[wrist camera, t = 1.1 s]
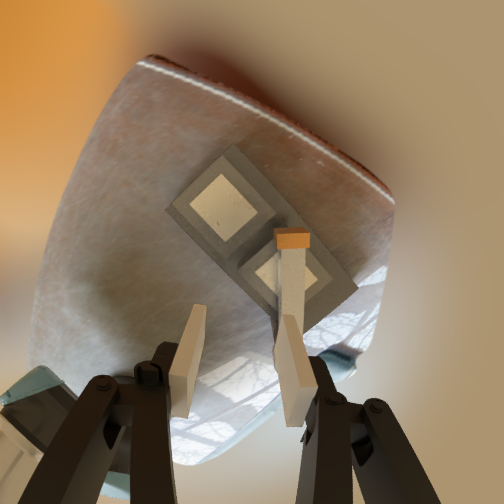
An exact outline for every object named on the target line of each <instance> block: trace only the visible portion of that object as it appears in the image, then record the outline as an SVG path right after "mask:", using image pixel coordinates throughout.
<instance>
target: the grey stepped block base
mask: <svg viewBox="0 0 504 504" xmlns="http://www.w3.org/2000/svg"><path fill="white" fill-rule="evenodd" d="M165 210H166V211H167V213H168V214H169V215H170V216H171V217H172V218H173V219H174V220H175V221H176V222H177V223H178V224H179V225H180V226H181V227H182V228H183V229H184V230H185V231H186V232H187V234H188V235H189V236H190V237H191V238H192V239H193V240H194V241H195V242H196V243H197V244H198V245H199V246H200V247H201V248H202V249H203V250H204V251H205V252H206V253H207V254H208V255H209V256H210V257H211V258H212V259H213V260H214V261H215V262H216V263H217V264H218V265H219V266H220V267H221V268H222V269H223V270H224V271H225V272H226V273H227V274H228V275H229V276H230V277H231V278H232V279H233V280H234V281H235V282H236V283H237V284H238V285H239V286H240V287H241V288H242V289H243V290H244V291H245V292H246V293H247V294H248V295H249V296H250V297H251V298H252V299H253V300H254V301H255V302H256V303H257V304H258V305H259V306H260V307H261V308H262V309H263V310H264V311H265V312H266V313H267V314H268V315H269V316H270V317H271V325H272V331H273V337H274V342H275V343H276V339H277V335H278V330H279V303H278V249H277V248H276V245H275V243H274V228H290V227H304V228H305V229H306V230H307V231H308V232H309V233H310V248H306V253H305V298H304V323H303V334H304V333H306V332H307V331H308V330H309V329H311V328H312V327H313V326H314V325H316V324H317V323H318V322H319V321H321V320H322V319H323V318H324V317H326V316H327V315H328V314H329V313H331V312H332V311H333V310H334V309H335V308H337V307H338V306H339V305H340V304H341V303H343V302H344V301H345V300H346V299H347V298H348V297H350V296H351V295H352V294H353V293H354V292H355V291H356V290H358V289H359V288H358V287H357V285H356V284H355V283H354V282H353V280H352V279H351V278H350V276H349V275H348V274H347V273H346V271H345V270H344V269H343V268H342V266H341V265H340V264H339V263H338V261H337V260H336V259H335V258H334V256H333V255H332V254H331V253H330V251H329V250H328V249H327V248H326V246H325V245H324V244H323V243H322V242H321V240H320V239H319V238H318V237H317V236H316V234H315V233H314V232H313V231H312V230H311V228H310V227H309V226H308V225H307V224H306V223H305V221H304V220H303V219H302V218H301V217H300V216H299V214H298V213H297V212H296V211H295V210H294V209H293V207H292V206H291V205H290V204H289V203H288V202H287V201H286V200H285V198H284V197H283V196H282V195H281V194H280V193H279V192H278V191H277V189H276V188H275V187H274V186H273V185H272V184H271V183H270V182H269V181H268V179H267V178H266V177H265V176H264V175H263V174H262V173H261V172H260V171H259V170H258V169H257V167H256V166H255V165H254V164H253V163H252V162H251V161H250V160H249V159H248V158H247V157H246V156H245V155H244V154H243V153H242V152H241V150H240V149H239V148H238V147H237V146H236V145H235V144H233V145H231V146H230V147H229V148H228V149H227V150H226V151H225V152H224V153H223V154H221V155H220V156H219V157H218V158H217V159H216V160H215V161H214V162H213V163H212V164H211V165H210V166H209V167H207V168H206V169H205V170H204V171H203V172H202V173H201V174H200V175H199V176H198V177H197V178H196V179H195V180H194V181H193V182H192V183H191V184H190V185H189V186H188V187H187V188H186V189H185V190H184V191H183V192H182V193H181V194H180V195H179V196H178V197H177V198H176V199H175V200H174V201H173V202H172V203H171V204H170V205H169V206H168V207H167V208H166V209H165Z"/></svg>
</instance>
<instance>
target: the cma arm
mask: <svg viewBox="0 0 504 504" xmlns="http://www.w3.org/2000/svg"><path fill="white" fill-rule="evenodd" d="M274 243H275V245H276V248H277V249H278V303H279V325H280V320H281V315H282V314H290V315H294V316H295V319H296V322H297V325H298V328H299V331H300V334H301V337H302V340H303V323H304V298H305V253H306V248H310V233H309V232H308V231H307V230H306V229H305V228H304V227H290V228H274ZM275 344H276V343H275ZM275 344H274V346H273V348H272V354H273V361H274V367H275V370H276V371H277V373H278V370H277V364H276V358H275V352H274V349H275Z"/></svg>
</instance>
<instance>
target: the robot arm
mask: <svg viewBox="0 0 504 504" xmlns="http://www.w3.org/2000/svg"><path fill="white" fill-rule="evenodd" d="M206 310H207V305H200V304H194V306H193V309H192V311H191V314H190V316H189V319H188V322H187V324H186V327H185V330H184V332H183V335H182V338H181V341H180V343H179V344H177V343H171V342H165V341H164V342H163V343H162V344H160V345H159V346H158V347H157V350H156V352H155V354H154V356H153V358H152V360H151V361H143V362H140V363H138V364H137V365H135V367H134V376H135V378H132V377H126V376H118V377H114V378H113V377H111V376H109V375H98V376H95V377H93V378H92V379H91V380H90V381H89V383H88V384H87V386H86V387H85V389H84V390H83V392H82V393H81V395H80V396H79V397H78V396H77V395H76V394H75V393H74V392H73V391H72V390H71V389H70V388H69V387H68V386H67V385H66V384H65V382H64V381H63V380H61V379H60V378H59V377H58V376H57V375H56V374H55V373H54V372H53V371H52V370H51V369H49V368H48V367H47V366H44V365H40V366H37V367H35V368H34V369H33V370H31V371H30V372H29V373H27V374H26V375H25V376H24V377H22V378H21V379H20V380H19V381H17V382H16V383H15V384H14V385H13V386H12V387H10V388H9V389H8V390H7V391H6V392H5V393H3V394H2V395H1V396H0V403H1V405H2V406H4V407H3V409H2V410H1V411H0V504H96V502H97V500H98V497H99V494H102V495H105V496H109V497H112V498H118V499H126V500H129V499H130V504H178V503H177V496H176V489H175V480H174V471H173V461H172V450H171V437H170V419H171V416H175V417H181V418H187V419H188V415H189V410H190V405H191V400H192V396H193V391H194V386H195V382H196V377H197V373H198V368H199V364H200V359H201V355H202V350H203V346H204V339H205V324H206ZM274 352H275V358H276V364H277V370H278V377H279V383H280V389H281V395H282V401H283V408H284V414H285V420H286V426H287V427H302V426H303V424H304V421H305V420H306V425H307V428H306V430H305V432H304V434H303V437H302V439H301V441H300V442H303V451H302V459H301V467H300V475H299V482H298V490H297V496H296V503H295V504H353V479H352V466H353V469H354V471H355V474H356V477H357V480H358V483H359V486H360V489H361V492H362V495H363V498H364V501H365V504H441V503H440V500H439V499H438V497H437V494H436V493H435V491H434V488H433V486H432V484H431V482H430V480H429V479H428V477H427V475H426V473H425V471H424V469H423V467H422V465H421V463H420V461H419V459H418V458H417V456H416V454H415V452H414V450H413V448H412V446H411V444H410V443H409V441H408V439H407V437H406V435H405V433H404V432H403V430H402V428H401V426H400V424H399V423H398V421H397V419H396V417H395V416H394V414H393V412H392V410H391V409H390V407H389V405H388V404H387V403H386V402H385V401H383V400H381V399H378V398H371V399H368V400H366V401H365V403H364V405H362V404H356V403H351V402H348V401H347V399H346V397H345V396H344V395H343V394H341V393H339V392H337V390H336V388H335V385H334V383H333V380H332V378H331V375H330V373H329V370H328V368H327V365H326V363H325V361H323V360H322V359H321V358H320V357H319V356H308V355H307V352H306V349H305V346H304V343H303V340H302V337H301V334H300V331H299V328H298V325H297V322H296V319H295V316H294V315H290V314H282V315H281V320H280V325H279V330H278V335H277V339H276V344H275V349H274ZM303 440H304V441H303Z"/></svg>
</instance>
